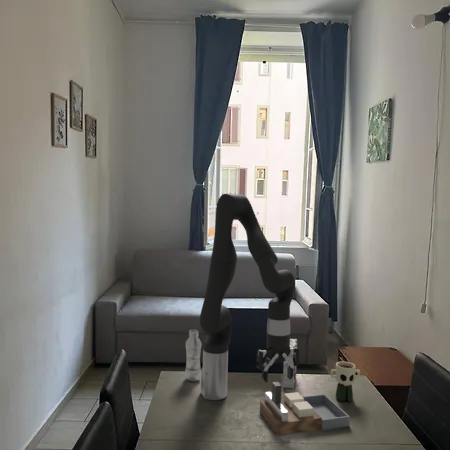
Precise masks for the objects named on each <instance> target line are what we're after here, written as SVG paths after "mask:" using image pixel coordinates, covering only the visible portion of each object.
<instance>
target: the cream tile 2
mask: <svg viewBox="0 0 450 450" xmlns="http://www.w3.org/2000/svg"><path fill="white" fill-rule="evenodd" d="M313 410H314V408H313V407H312V406H311V405H310V404H309V403H308V402H307V401H304V402H295V403H293V411H294V412H295V413H296V414H297V416H298V417H306V416H313Z"/></svg>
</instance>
